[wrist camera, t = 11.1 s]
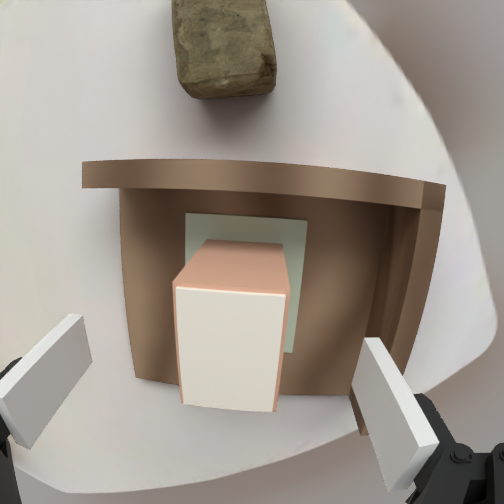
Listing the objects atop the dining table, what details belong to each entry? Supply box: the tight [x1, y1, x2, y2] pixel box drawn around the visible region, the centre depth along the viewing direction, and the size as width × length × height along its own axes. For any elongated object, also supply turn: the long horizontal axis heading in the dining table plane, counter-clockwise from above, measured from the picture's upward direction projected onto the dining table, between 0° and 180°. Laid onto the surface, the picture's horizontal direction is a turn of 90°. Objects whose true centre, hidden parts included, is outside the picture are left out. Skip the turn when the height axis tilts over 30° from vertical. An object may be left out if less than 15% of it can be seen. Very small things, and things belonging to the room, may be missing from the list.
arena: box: [82, 159, 446, 436], centre depth 20 cm, size 20×18×6 cm
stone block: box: [172, 0, 277, 99], centre depth 16 cm, size 6×12×5 cm, turn 8°
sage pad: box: [185, 213, 308, 353], centre depth 22 cm, size 8×10×1 cm
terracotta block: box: [172, 239, 290, 412], centre depth 18 cm, size 7×5×8 cm
